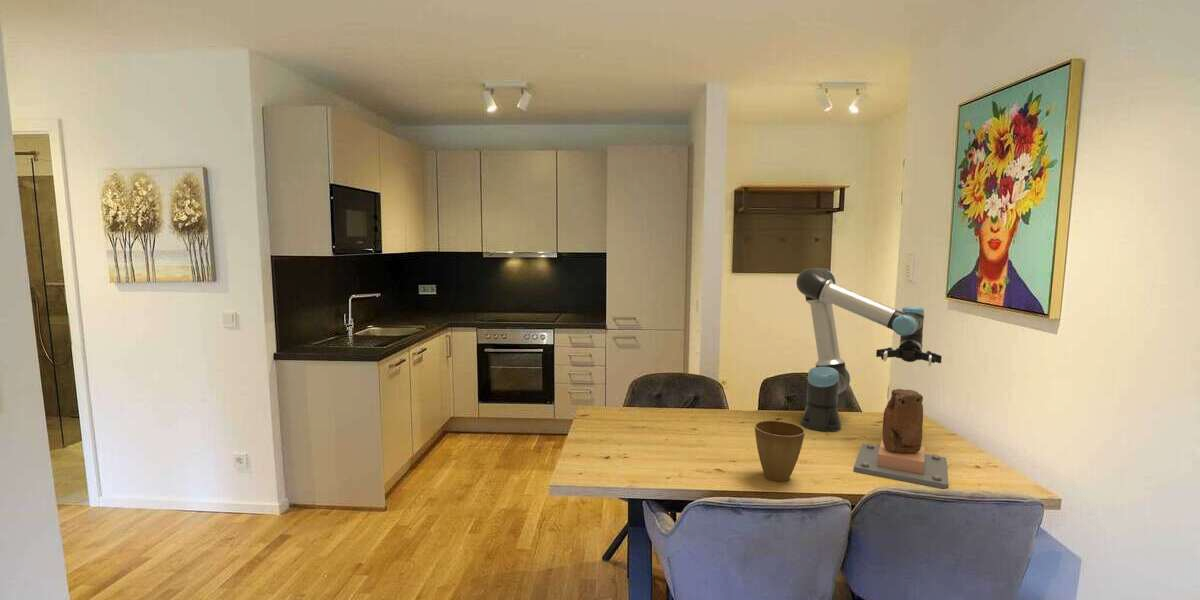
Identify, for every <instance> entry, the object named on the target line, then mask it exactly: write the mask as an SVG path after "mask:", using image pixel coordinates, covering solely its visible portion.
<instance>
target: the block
mask: <svg viewBox="0 0 1200 600" xmlns="http://www.w3.org/2000/svg"><path fill="white" fill-rule="evenodd" d="M923 400H924V396H923V395H922V394H921V393H919V392H918V391H916V390H914V389H913V390H912V389H902V388H896V389H892V391H891V397H890V399H889V400H888V402H887V405H886V407H885V408H884V411H883V417H882V440H883V444H884V447H885V448H886V449H887V450H889V451H893V452H897V451H898V452H902V453H915V452H918V451H920V448H921V446H922V444H923V443H922V442H923V426H924V424H923V423H924V406H923Z"/></svg>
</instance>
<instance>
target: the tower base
mask: <svg viewBox="0 0 1200 600" xmlns="http://www.w3.org/2000/svg"><path fill="white" fill-rule="evenodd" d="M925 447H926V446H922V445H921V448H920V451H918V452H915V453H902V452H898V451H897V452H893V451H889V450H887V449H886V448H885V447H884V444H883V439H881V442H880V445H879V446H878V445H875V444H874V443H862V444H861V446H860V448H859V452H858V455H857V457H856V459H855V462H854V465H853V472H854V473H861V474H865V475H871V476H875V477H880V478H885V479H886V478H887V479H891V480H897V481H901V482H906V483H910V484H911V483H913V484H917V485H922V486H928V487H933V488H937V487H938V488H939V489H943V488H948V489H949V484H950V483H949V474H948V464H947V463H948V462H947V457H945V456H940V455H938V454H926V453H925V451H926V449H925Z"/></svg>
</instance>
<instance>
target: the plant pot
mask: <svg viewBox="0 0 1200 600" xmlns="http://www.w3.org/2000/svg"><path fill="white" fill-rule="evenodd" d="M805 433H806V430H805V429H804V428H803V427H802V426H800V425H797V424H795V423H792V422H789V421H788V422H787V421H780V420H761V421H758V422H756V423H754V434H755V435H754V436H755V442H756V447H757V453H758V457H759V462H760V464H761V468H762V471H763V475H764V476H765V478H766V479H767V480H770V481H772V482H773V481H774V482H781V483H782V482H787V481H789V480H790V479H791V476H792V475H793V472H794V470H795V467H796V465H797V462H798V459H799V456H800V453H801V449H802V447H803V442H804V437H805Z"/></svg>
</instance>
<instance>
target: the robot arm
mask: <svg viewBox="0 0 1200 600" xmlns="http://www.w3.org/2000/svg"><path fill="white" fill-rule="evenodd" d="M796 288H797V290H798V291H799V292H800V293H801V294H802V295H804V299H805V302H806V303H808V304H809V305H810V310H811V311H810V312H811V318H812V325H813V330H814V331H813V333H814V338H815V345H816V351H817V357H818V358H817V359H818V360H817V361H816V362H815V367H812V368H810V369H809V370H808V375H807V384H806V385H807V387H806V390H807V391H806V406H805V409H804V411H803V414H802V416H801V420H800V421H801V423H800V424H801V425H802V426H803V427H804V428H807V429H810V430H813V431H819V432H838V431H840V430H841V429H842V422H841V421H842V420H841V418H840V414H839V410H838V400H839V395H840V394H841V393H843V392H845V391H846V390H847V388H848V387H849V385H850V383H851V375H850V372H849V371H848V370H847V367H846V362H845V360H844V359H842V358H841V356H840V355H841V354H840V350H839V349H840V348H839V342H838V341H839V340H838V336H837V334H838V333H837V328H836V327H837V326H836V322H835V316H834V307H833V305H834V306H837V307H839V308H842V309H843V310H846V311H848V312H851V313H852V314H854V315H858V316H860V317H862V318H864V319H867V320H869V321H872V322H874V323H876V324H878V325H881V326H883V327H885V328H888V329H890V330H892V331H893V332H894V333H895V334H897V335H898V336H900V340H899V341H900V342H899V346H898V347H897V348H895V349H894V348H893V347H886V348H881V349H880V348H879V349H876V350H875V351H876V352H875V353H876V356H875V357H877V358H880V359H881V360H882V362H887V360H888V358H897V359H901V360H902V361H904V362H906V363H914V362H916V361H925V362H928V367H930V366H931V367H932V364H935V363H937V364H942V356H943V355H940V354H937V353H935V352H932V351H930V350H927V351H925V352H923V337H924V336H923V333H924V331H923V330H924V320H925V311H924V308H923V307H920V306H903V307H902V309H901V310H898V309H896V308H893V307H891V306H889V305H886V304H883V303H882V302H879V301H878V300H875V299H872V298H869V297H867V296H864V295H862V294H860V293H857V292H856V291H853V290H850V289H848V288H846V287H844V286H842V285H838V284H836V278H835V275H834V274H833V272H831V271H830V270H828V269H827V268H824V267H815V268H813V267H811V268H805V269H803V270H801V272H800V273H799V274H798V275H797V277H796Z"/></svg>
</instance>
